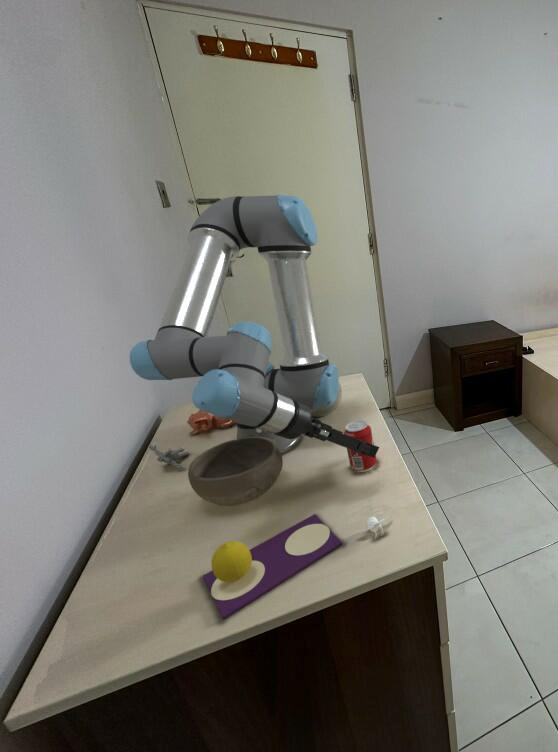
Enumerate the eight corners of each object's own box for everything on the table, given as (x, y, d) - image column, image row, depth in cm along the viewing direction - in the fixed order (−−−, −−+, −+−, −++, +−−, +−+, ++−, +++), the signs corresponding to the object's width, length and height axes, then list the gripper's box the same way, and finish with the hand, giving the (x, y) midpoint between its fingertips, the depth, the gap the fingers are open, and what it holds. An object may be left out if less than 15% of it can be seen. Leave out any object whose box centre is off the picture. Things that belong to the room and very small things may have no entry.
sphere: (288, 412, 129) (305, 428, 119) (277, 372, 123) (294, 385, 114) (333, 397, 139) (353, 411, 129) (325, 359, 133) (345, 370, 123)
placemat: (203, 578, 71) (202, 575, 71) (315, 516, 85) (314, 513, 85) (223, 619, 64) (222, 617, 63) (342, 544, 77) (341, 541, 77)
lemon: (231, 566, 72) (217, 533, 69) (262, 564, 73) (250, 530, 70) (212, 594, 67) (197, 559, 64) (246, 591, 68) (233, 556, 64)
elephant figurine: (207, 454, 108) (183, 462, 99) (193, 471, 108) (167, 481, 99) (176, 431, 107) (149, 438, 98) (161, 449, 107) (133, 457, 98)
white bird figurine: (387, 512, 84) (387, 499, 82) (397, 529, 82) (398, 516, 79) (349, 531, 79) (349, 518, 77) (360, 550, 77) (359, 538, 74)
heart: (185, 406, 121) (184, 426, 110) (233, 397, 128) (236, 416, 117) (190, 423, 123) (189, 445, 112) (236, 414, 130) (240, 434, 119)
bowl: (278, 507, 88) (267, 469, 84) (185, 525, 83) (168, 487, 79) (294, 463, 103) (285, 429, 99) (216, 476, 98) (203, 442, 95)
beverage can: (382, 461, 103) (375, 421, 98) (366, 476, 97) (358, 434, 93) (362, 457, 104) (354, 417, 100) (345, 471, 99) (336, 430, 94)
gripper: (240, 418, 85) (318, 444, 102) (310, 451, 73) (385, 474, 90) (259, 387, 87) (332, 417, 105) (330, 414, 75) (399, 443, 92)
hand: (357, 444), depth 97 cm, fingers open, 13 cm apart
